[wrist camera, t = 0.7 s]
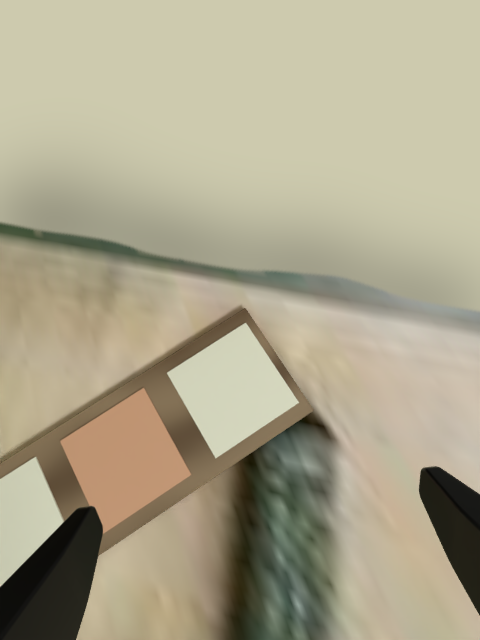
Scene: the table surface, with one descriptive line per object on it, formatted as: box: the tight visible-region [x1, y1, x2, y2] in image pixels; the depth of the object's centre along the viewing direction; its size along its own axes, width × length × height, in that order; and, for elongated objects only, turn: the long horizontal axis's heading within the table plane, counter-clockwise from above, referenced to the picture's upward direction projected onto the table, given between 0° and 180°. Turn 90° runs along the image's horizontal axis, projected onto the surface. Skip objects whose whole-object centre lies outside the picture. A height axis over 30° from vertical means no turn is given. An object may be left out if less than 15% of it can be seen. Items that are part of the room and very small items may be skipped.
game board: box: [0, 308, 314, 586], centre depth 23 cm, size 9×26×1 cm, turn 123°
